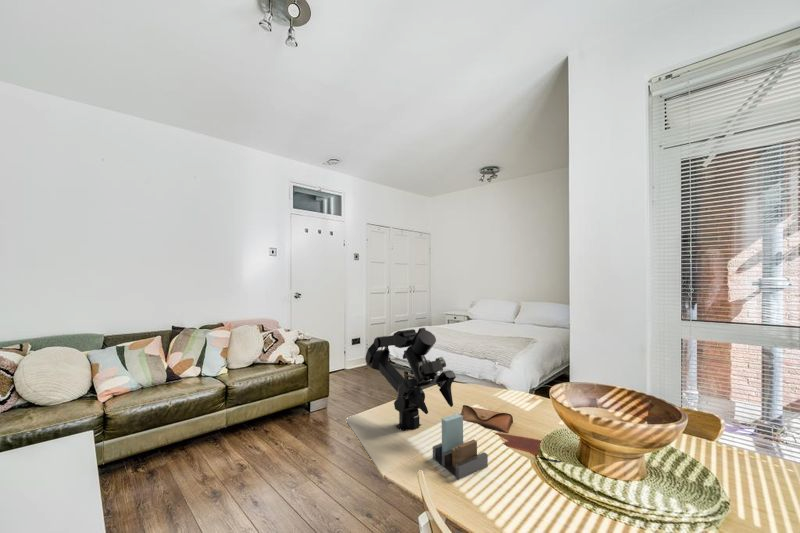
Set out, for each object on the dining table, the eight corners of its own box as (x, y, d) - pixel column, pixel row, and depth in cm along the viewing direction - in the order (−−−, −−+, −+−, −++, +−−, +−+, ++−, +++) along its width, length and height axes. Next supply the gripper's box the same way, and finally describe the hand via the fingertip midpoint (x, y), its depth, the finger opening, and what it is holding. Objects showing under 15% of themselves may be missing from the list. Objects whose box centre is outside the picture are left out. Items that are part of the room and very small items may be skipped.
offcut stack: (452, 465, 85) (451, 441, 85) (467, 459, 88) (467, 435, 88) (461, 473, 82) (460, 447, 82) (477, 466, 85) (476, 441, 85)
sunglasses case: (455, 422, 111) (458, 402, 115) (460, 425, 117) (463, 405, 120) (509, 433, 103) (511, 411, 107) (512, 436, 109) (513, 415, 112)
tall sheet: (442, 458, 88) (441, 418, 89) (458, 452, 91) (458, 413, 92) (446, 462, 87) (446, 421, 87) (463, 455, 90) (462, 416, 90)
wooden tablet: (562, 447, 96) (562, 442, 96) (564, 465, 87) (563, 459, 87) (474, 429, 107) (473, 424, 108) (466, 444, 98) (466, 438, 98)
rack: (432, 460, 89) (432, 446, 89) (460, 450, 94) (459, 436, 94) (458, 482, 79) (458, 466, 80) (487, 469, 85) (487, 454, 85)
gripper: (402, 353, 94) (425, 403, 84) (451, 345, 104) (476, 390, 94) (390, 373, 101) (409, 422, 91) (437, 363, 110) (459, 407, 101)
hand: (439, 409), depth 94 cm, fingers open, 9 cm apart
